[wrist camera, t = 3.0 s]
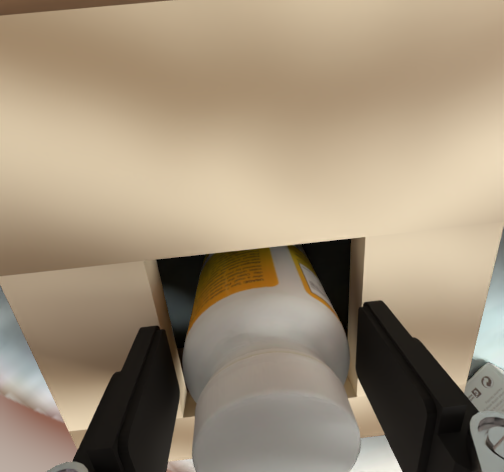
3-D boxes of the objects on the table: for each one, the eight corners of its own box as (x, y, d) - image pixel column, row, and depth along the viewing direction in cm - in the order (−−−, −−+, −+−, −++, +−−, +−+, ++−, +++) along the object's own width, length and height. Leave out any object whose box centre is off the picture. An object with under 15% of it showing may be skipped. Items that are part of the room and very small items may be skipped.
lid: (-164, -181, 6) (-763, -626, 3) (564, -234, 7) (1006, -699, 3) (99, 442, 14) (47, 569, 10) (438, 402, 14) (515, 509, 10)
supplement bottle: (320, 234, 15) (438, 395, 7) (283, 317, 17) (338, 534, 8) (217, 204, 15) (194, 345, 6) (191, 296, 16) (141, 512, 7)
